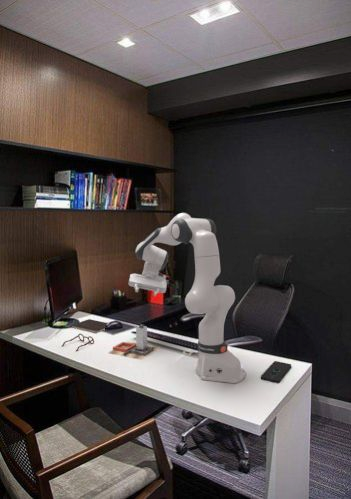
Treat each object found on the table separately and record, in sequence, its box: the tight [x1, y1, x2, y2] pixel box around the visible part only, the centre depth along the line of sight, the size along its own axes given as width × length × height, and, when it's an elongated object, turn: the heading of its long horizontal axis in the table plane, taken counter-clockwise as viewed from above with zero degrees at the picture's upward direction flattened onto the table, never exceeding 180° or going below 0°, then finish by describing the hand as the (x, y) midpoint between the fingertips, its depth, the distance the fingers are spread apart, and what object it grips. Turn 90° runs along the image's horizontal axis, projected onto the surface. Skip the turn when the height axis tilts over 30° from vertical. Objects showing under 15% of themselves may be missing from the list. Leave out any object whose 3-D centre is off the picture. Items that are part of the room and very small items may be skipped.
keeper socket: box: [112, 341, 136, 352], centre depth 193 cm, size 9×9×2 cm
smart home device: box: [260, 360, 292, 384], centre depth 164 cm, size 8×2×20 cm
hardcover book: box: [70, 318, 108, 334], centre depth 237 cm, size 16×23×2 cm
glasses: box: [61, 333, 95, 353], centre depth 203 cm, size 13×13×5 cm
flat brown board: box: [107, 341, 161, 361], centre depth 190 cm, size 21×18×3 cm
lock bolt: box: [135, 324, 148, 352], centre depth 187 cm, size 4×4×14 cm
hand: (145, 293), depth 188 cm, fingers open, 8 cm apart
